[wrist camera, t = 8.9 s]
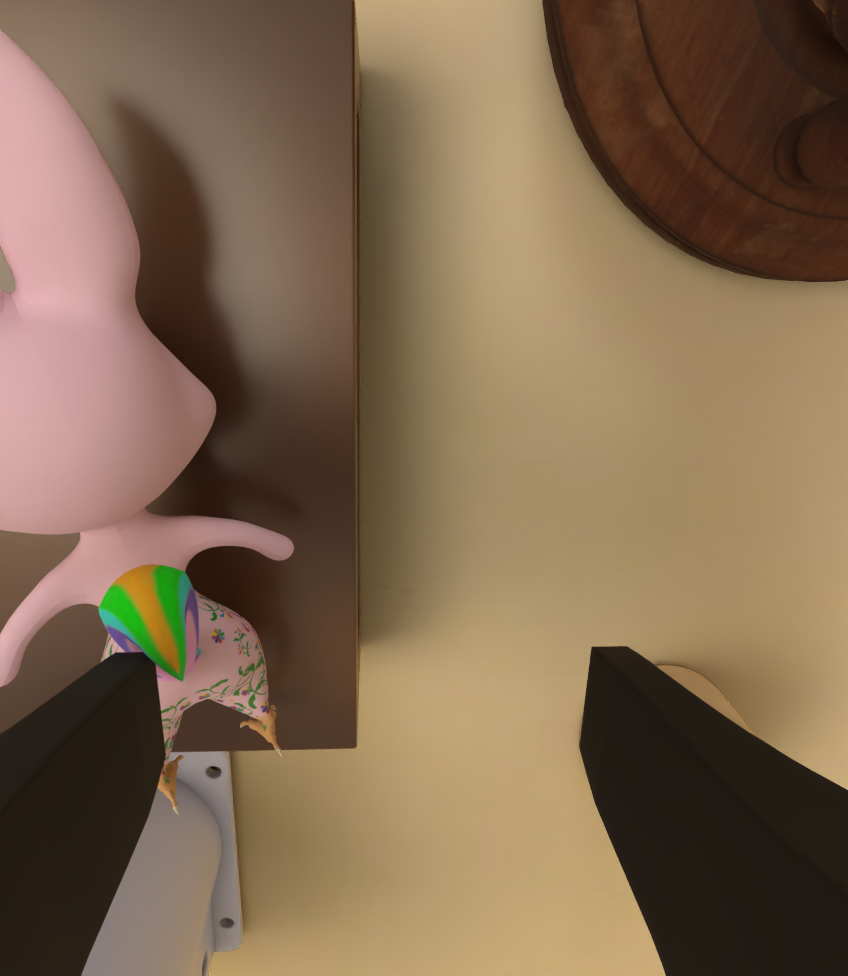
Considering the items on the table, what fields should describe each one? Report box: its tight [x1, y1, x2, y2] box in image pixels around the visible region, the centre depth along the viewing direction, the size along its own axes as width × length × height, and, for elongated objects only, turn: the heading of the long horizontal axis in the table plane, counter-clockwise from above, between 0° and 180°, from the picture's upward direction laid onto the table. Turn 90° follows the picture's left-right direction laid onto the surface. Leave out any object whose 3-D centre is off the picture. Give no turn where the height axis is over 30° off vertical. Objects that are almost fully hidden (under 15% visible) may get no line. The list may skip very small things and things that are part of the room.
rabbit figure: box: [0, 29, 294, 815], centre depth 12 cm, size 6×6×15 cm
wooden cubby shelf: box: [0, 0, 360, 752], centre depth 17 cm, size 17×11×5 cm, turn 178°
